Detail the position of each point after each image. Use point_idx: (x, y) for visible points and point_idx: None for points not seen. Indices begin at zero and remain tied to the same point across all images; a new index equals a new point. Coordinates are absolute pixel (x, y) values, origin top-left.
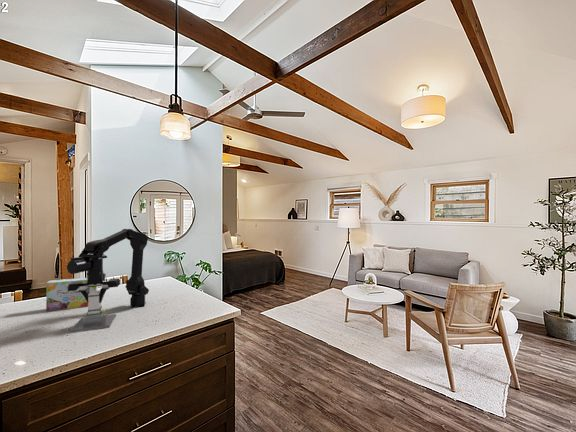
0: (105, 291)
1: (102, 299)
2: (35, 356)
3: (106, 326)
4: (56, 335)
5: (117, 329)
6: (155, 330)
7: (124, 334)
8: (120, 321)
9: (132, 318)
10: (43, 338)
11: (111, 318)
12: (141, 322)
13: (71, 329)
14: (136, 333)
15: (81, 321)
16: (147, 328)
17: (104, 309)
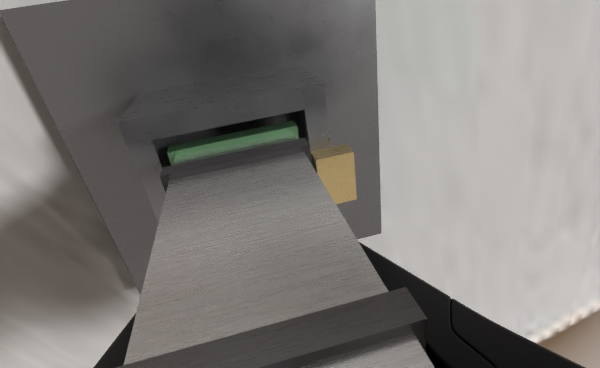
0: (538, 362)
1: (374, 253)
2: None
3: (361, 232)
4: (73, 312)
5: (427, 252)
6: (592, 273)
7: (467, 305)
8: (426, 125)
9: (506, 73)
10: (16, 345)
11: (360, 96)
12: (553, 167)
13: (139, 282)
14: (516, 297)
15: (93, 128)
16: (566, 251)
17: (339, 159)
